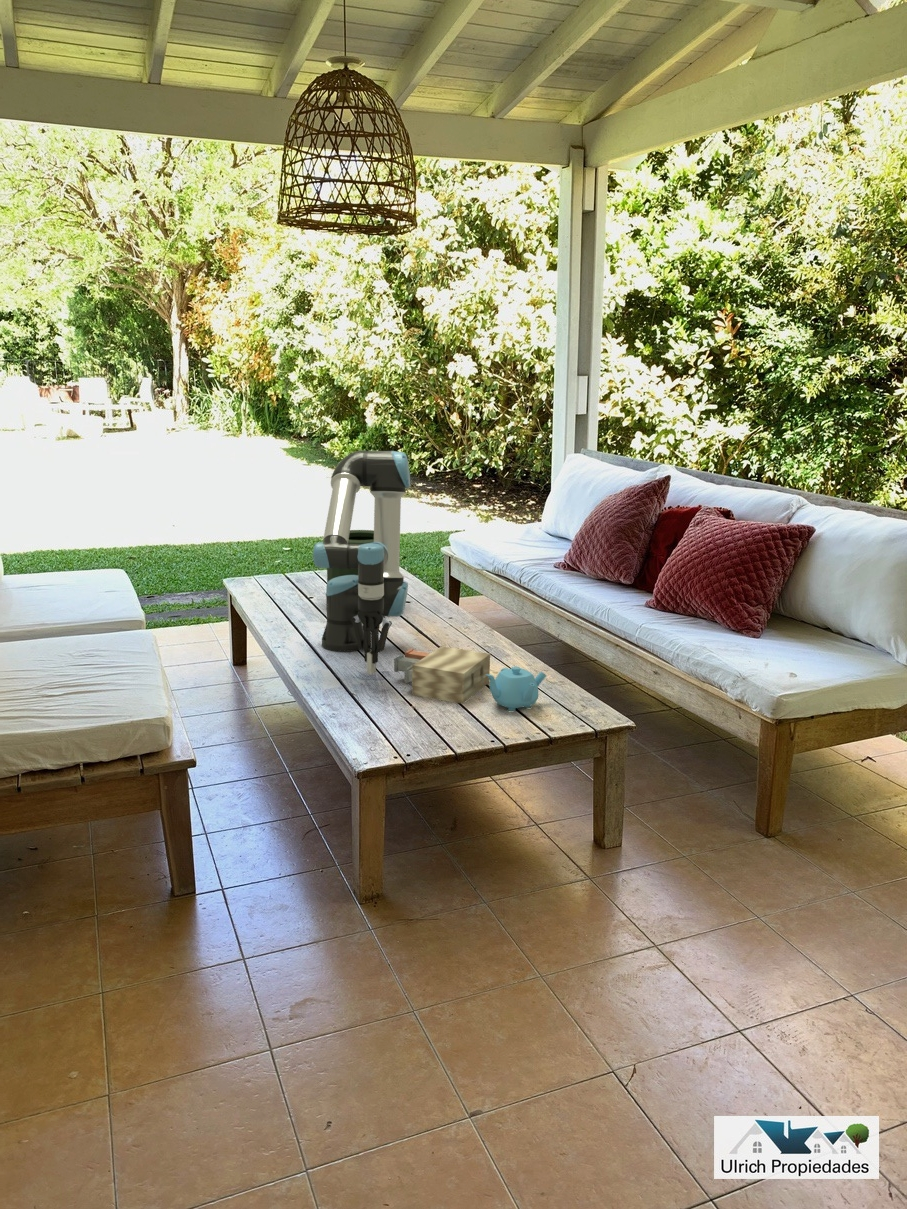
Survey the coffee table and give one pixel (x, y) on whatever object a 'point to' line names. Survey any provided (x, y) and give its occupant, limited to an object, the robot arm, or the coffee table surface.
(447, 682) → the socket block
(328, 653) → the coffee table surface
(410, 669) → the grey plug near
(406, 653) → the terracotta plug
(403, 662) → the grey plug middle
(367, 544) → the robot arm
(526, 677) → the teapot
